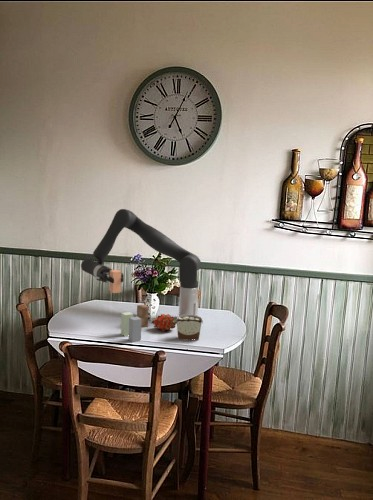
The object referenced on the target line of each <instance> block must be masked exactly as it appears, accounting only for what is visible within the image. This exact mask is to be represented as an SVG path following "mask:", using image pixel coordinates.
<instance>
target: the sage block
mask: <svg viewBox="0 0 373 500" xmlns="http://www.w3.org/2000/svg"><path fill="white" fill-rule="evenodd" d="M130 317H134V313H132V312H130V311H126V312H121V317H120V319H121V320H120V321H121V322H120V335H121V336H123V335H124V336H126V337H129V336H128V335H129V318H130ZM124 336H123V337H124Z"/></svg>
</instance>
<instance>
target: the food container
mask: <svg viewBox="0 0 373 500" xmlns="http://www.w3.org/2000/svg"><path fill="white" fill-rule="evenodd" d="M175 320H176V322H177V323H176V328H177V329H176V331H177V340H178V339H189V340H188V341H191V340H190V339H193V340H192V341H200V335H201V329H202V324H204V321H203V318H202V317H201V316H198V315H197V316H195V315H180V316H179V315H178V316H177V317H176V319H175ZM194 339H195V340H194Z"/></svg>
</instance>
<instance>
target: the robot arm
mask: <svg viewBox="0 0 373 500" xmlns="http://www.w3.org/2000/svg"><path fill="white" fill-rule="evenodd" d="M124 228H125V229H128V230H129V231H131V232H132V233H134V234H135V235H137V236H139V238H140V239H141V240H142V241H143V242H144V243H145V244H146V245H148V246H149V247H150V248H152V249H153V250H154V251H156V252H158V253H160V254H162V255H165V256H168V257H170V258H172V259H173V260H175V261H177V262H178V263H179V267H178V269H179V271H178V274H179V276H178V280H179V299H178V300H179V301H178V316H180V315H195V316H198V315H199V314H198V311H199V299H198V295H199V281H198V270H200V269H201V266H202V262H201V259H200V258H199V256H198V255H196V254H194V253H192V252H190V251H188V249H185V248H183V247H182V246H181V245H179V244H178V243H176V242H175V241H174V240H172V239H171V238H170V237H168V236H167V235H165V234H164V233H163V232H161V231H160V230H158V229H156V228H155V227H153V226H152V225H150V224H147V223H146V222H144V221H143V220H142V219H141V218H140V217H138V216H137V215H136V214H135V213H134V212H133V211H131V210H130V209H126V208H121V209H119V210H117V211H116V213H115V214H114V217H113V219H112V221H111V223H110V225H109V227H108V229H107V230H106V233H105V235H103V237H102V239H101V240H100V242H99V243H98V245H97V246H96V247H95V249H94V251H93V252H92V255H93V256H94V258H95V259H96V260H97V261H95V260H92V259H91V258H86V259H84V260H82V262H81V264H80V269H81V270H82V271H83V272H85V273H87V274H89V275H91V276H93V278H96V281H99V282H102V283H110V282H111V283H114V278H112V277H110V271H111V270H113V269H112V268H111V267H109V266H107V265H104V262H105V260H106V259H107V257H108V256H109V254H110V252H111V251H112V249H113V247H114V245H115V242H116V241H117V238H118V236H119V235H120V233H121V232H122V230H124ZM123 282H124V273H123V272H121V283H123Z"/></svg>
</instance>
